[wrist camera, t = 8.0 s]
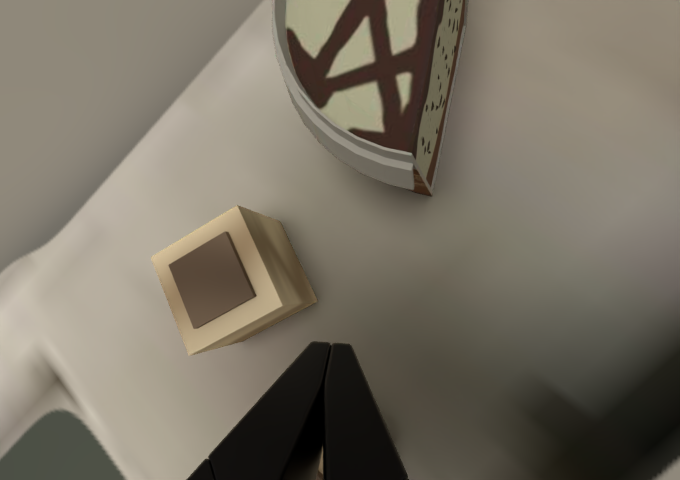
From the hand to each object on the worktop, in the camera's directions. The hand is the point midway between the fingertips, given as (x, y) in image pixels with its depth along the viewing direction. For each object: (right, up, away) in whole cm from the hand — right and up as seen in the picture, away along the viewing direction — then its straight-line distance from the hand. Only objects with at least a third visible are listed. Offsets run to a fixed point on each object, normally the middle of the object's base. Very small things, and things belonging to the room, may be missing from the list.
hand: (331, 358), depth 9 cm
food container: (+3, +10, +14) cm, 17 cm away
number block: (-4, 0, +15) cm, 15 cm away
